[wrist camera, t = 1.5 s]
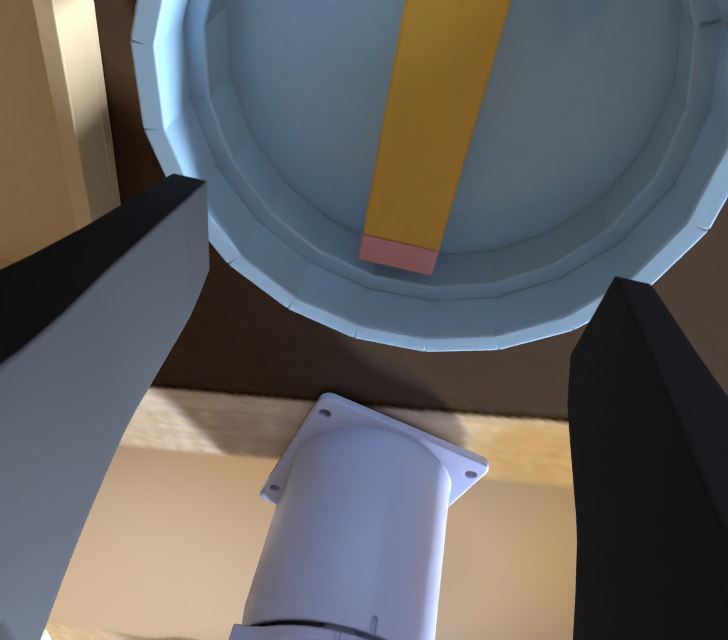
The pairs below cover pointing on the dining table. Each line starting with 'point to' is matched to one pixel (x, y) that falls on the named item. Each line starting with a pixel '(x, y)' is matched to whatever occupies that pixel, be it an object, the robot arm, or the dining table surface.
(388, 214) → the pencil
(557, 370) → the dining table surface
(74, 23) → the pen tray
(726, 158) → the bowl
